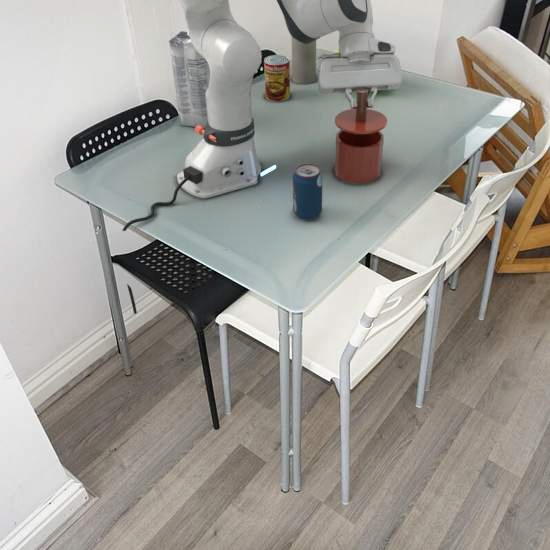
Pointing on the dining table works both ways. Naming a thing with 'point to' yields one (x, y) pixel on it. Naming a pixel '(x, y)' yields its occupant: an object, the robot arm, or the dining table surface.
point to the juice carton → (190, 80)
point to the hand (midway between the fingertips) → (362, 107)
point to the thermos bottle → (303, 62)
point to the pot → (358, 156)
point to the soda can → (307, 191)
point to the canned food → (277, 77)
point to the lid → (361, 117)
